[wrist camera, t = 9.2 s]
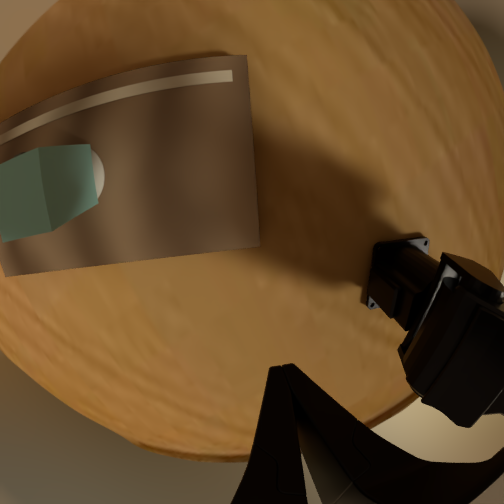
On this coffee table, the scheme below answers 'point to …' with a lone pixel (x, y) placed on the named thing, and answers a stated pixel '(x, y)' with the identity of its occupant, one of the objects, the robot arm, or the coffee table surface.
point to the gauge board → (147, 165)
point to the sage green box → (45, 189)
